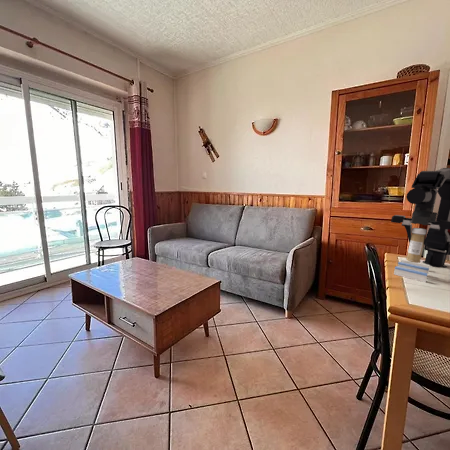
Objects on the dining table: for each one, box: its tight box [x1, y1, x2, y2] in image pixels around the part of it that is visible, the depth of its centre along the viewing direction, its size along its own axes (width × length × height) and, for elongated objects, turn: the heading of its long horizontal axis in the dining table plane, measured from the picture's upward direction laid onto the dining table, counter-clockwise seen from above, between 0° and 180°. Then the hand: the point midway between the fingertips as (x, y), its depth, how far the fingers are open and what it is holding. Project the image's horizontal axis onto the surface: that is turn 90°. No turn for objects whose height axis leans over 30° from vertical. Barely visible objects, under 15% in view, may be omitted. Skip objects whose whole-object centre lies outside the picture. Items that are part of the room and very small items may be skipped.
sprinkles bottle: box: [405, 227, 428, 263], centre depth 95 cm, size 5×5×13 cm
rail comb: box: [393, 258, 431, 283], centre depth 99 cm, size 19×10×3 cm, turn 137°
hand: (416, 243), depth 95 cm, fingers closed on sprinkles bottle, 4 cm apart
